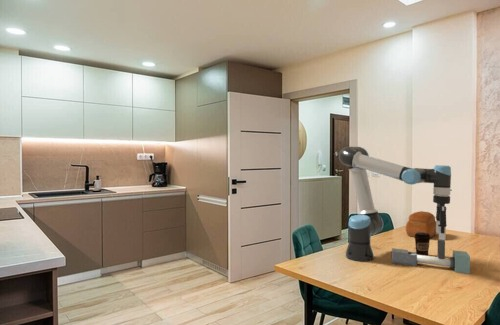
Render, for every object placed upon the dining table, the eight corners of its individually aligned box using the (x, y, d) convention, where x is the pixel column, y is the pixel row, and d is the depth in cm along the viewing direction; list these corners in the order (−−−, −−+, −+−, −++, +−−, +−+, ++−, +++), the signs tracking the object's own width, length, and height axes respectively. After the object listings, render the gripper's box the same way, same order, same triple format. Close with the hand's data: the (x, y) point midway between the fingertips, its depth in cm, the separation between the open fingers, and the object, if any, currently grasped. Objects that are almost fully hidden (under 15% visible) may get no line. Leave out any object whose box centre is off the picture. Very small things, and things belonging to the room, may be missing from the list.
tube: (408, 264, 170) (409, 238, 170) (408, 261, 175) (408, 236, 175) (465, 271, 160) (465, 243, 160) (462, 267, 165) (463, 241, 165)
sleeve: (391, 263, 173) (391, 251, 173) (392, 260, 179) (392, 248, 179) (416, 266, 168) (417, 254, 168) (416, 262, 174) (416, 250, 174)
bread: (439, 234, 236) (439, 211, 236) (430, 240, 221) (430, 215, 221) (413, 231, 249) (413, 209, 248) (403, 236, 233) (403, 212, 233)
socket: (455, 272, 160) (455, 255, 160) (452, 266, 168) (452, 250, 168) (469, 273, 158) (470, 256, 157) (466, 268, 166) (466, 251, 166)
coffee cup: (432, 258, 182) (433, 235, 182) (417, 257, 183) (417, 234, 183) (427, 253, 190) (427, 231, 190) (412, 253, 192) (412, 231, 192)
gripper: (454, 199, 153) (452, 243, 154) (446, 193, 176) (445, 231, 176) (436, 197, 156) (434, 241, 157) (431, 192, 179) (429, 230, 179)
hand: (440, 236), depth 167 cm, fingers open, 13 cm apart
